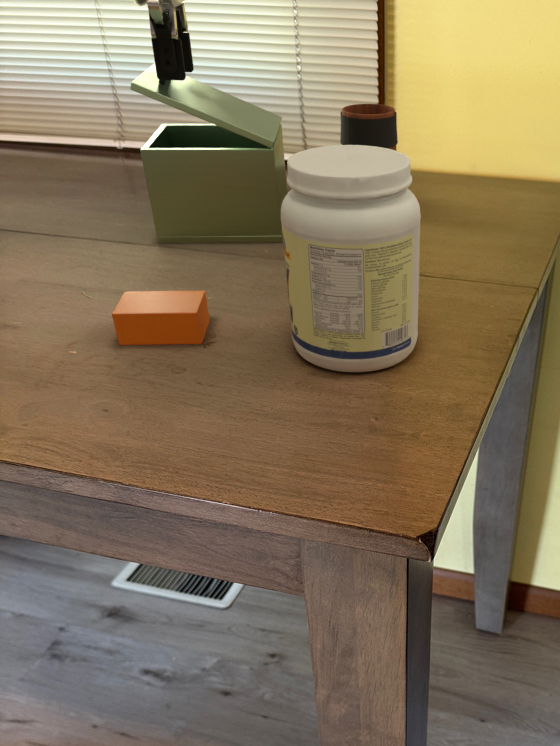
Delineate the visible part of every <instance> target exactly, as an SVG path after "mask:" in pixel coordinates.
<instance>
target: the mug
mask: <svg viewBox="0 0 560 746" xmlns="http://www.w3.org/2000/svg"><path fill="white" fill-rule="evenodd" d="M397 117H398V116H397V112H396V109H395V108H394V107H393V106H390V105H385V104H379V103H357V104H350V105H349V104H348V105H346V106H343V107H342V108H341V111H340V140H339V141H340V143H339V144H340V145H365V146H376V147H382V148H387V149H392V150H395V151H397V145H398V143H399V142H398V126H397V125H398V124H397V123H398V121H397Z"/></svg>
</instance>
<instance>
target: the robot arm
mask: <svg viewBox="0 0 560 746" xmlns="http://www.w3.org/2000/svg"><path fill="white" fill-rule="evenodd" d="M132 1H133V2H134V4H136V6H137V7H142V6H143V7H144V6H145V5H147V9H148V18H149V30H150V31H149V32H150V36H151V37H150V40H151V45H152V46H151V47H152V53H153V59H154V63H155V67H156V73H157V78H158V79H159V80H177V81H183V80H185V78H186V76H187V74H186V73H192V72H193V71H194V60H193V52H192V45H191V37H190V35H191V34H190V32H189V25H188V19H187V14H186V7H185V2H187V0H132ZM178 36H179V37H180V39H178ZM181 41H182V43H181Z"/></svg>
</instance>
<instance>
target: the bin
mask: <svg viewBox="0 0 560 746" xmlns="http://www.w3.org/2000/svg"><path fill="white" fill-rule="evenodd" d="M282 126H283V125H282V124H281V123H280V126H279V129H278V132H277V135H276V138H275V142H274V145H273V148H270V147H267V146H265V145H263V144H260V143H258V142H255V141H253V140H251V139H248V138H246V137H243V136H241V135H239V134H236V133H234V132H231V131H229V130H226V129H224V128H222V127H219V126H217V125H214V124H212V123H161V124H160V125H159V127H158V128H157V129H156V130H155V132H154V133H153V134H152V135H151V136H150V137H149V139H148V140H146V142H145V143H144V144H143V145H142V147H141V148H140V149H139V151H140V157H141V162H142V167H143V173H144V177H145V182H146V188H147V193H148V199H149V202H150V208H151V213H152V218H153V224H154V228H155V229H154V230H155V233H156V239H157V243H158V244H219V243H220V244H222V243H223V244H228V243H229V244H234V243H236V244H238V243H242V244H243V243H248V244H249V243H250V244H251V243H283V233H282V222H281V206H282V203H283V200H284V198H285V196H286V195H287V194H288V184H287V172H286V162H285V150H284V138H283V127H282Z"/></svg>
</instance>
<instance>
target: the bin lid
mask: <svg viewBox="0 0 560 746" xmlns="http://www.w3.org/2000/svg"><path fill="white" fill-rule="evenodd" d="M178 39H180V37H179V36H178ZM181 43H182V41H181ZM129 89H130V90H131V91H133V92H135V93H137V94H139V95H143V96H145V97H147V98H150V99H152V100H155V101H157V102H159V103H162V104H164V105H166V106H168V107H172V108H173V109H176V110H178V111H181V112H184V113H186V114H189V115H190V116H193V117H195V118H198V119H200V120H203V121H205V122H208V123H209V124H214V125H217V126H219V127H222V128H224V129H226V130H229V131H231V132H234V133H236V134H239V135H241V136H243V137H246V138H248V139H251V140H253V141H255V142H258V143H260V144H263V145H265V146H267V147H270V148H273V145H274V142H275V138H276V135H277V132H278V129H279V126H280V124H281V123H282V119H283V117H282V116H281V115H278V114H277V113H274V112H271V111H269V110H267V109H264V108H262V107H260V106H257V105H255V104H253V103H251V102H248V101H245V100H243V99H242V98H239V97H237V96H235V95H232V94H230V93H227V92H225V91H223V90H220V89H218V88H215V87H213V86H210V85H209V84H206V83H204V82H202V81H199V80H197V79H194V78H192V77H190V76H187V75H186V78H185V80H183V81H177V80H159V79H158V78H157V73H156V67H155V62H154V63H153V64H152V65H150V66H149V67H148V68H147V69H145V71H143V72H142V73H140V75H138V76H137V77H136V78H134V79H133V80H132V81H131V82H130V88H129Z"/></svg>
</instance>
